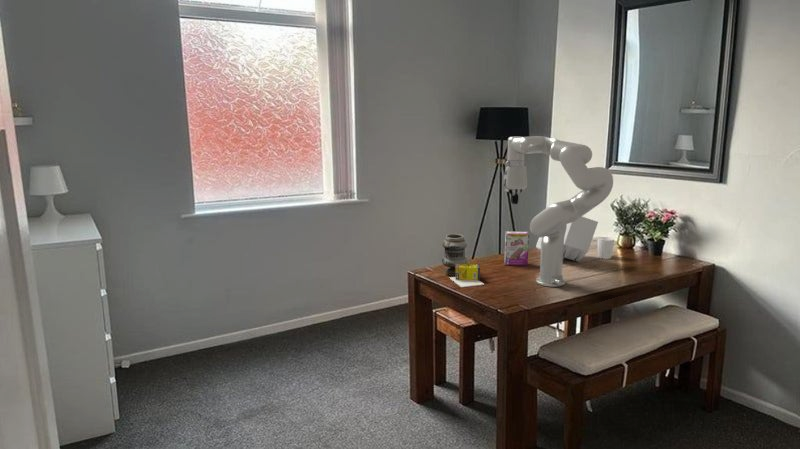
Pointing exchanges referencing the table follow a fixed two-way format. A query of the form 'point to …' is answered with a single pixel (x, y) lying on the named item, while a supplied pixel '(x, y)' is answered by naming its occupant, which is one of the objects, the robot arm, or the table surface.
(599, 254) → the white cup
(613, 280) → the table surface
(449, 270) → the apothecary jar
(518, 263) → the candy bar box
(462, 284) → the felt mat
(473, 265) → the supplement box
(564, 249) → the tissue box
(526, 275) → the table surface
